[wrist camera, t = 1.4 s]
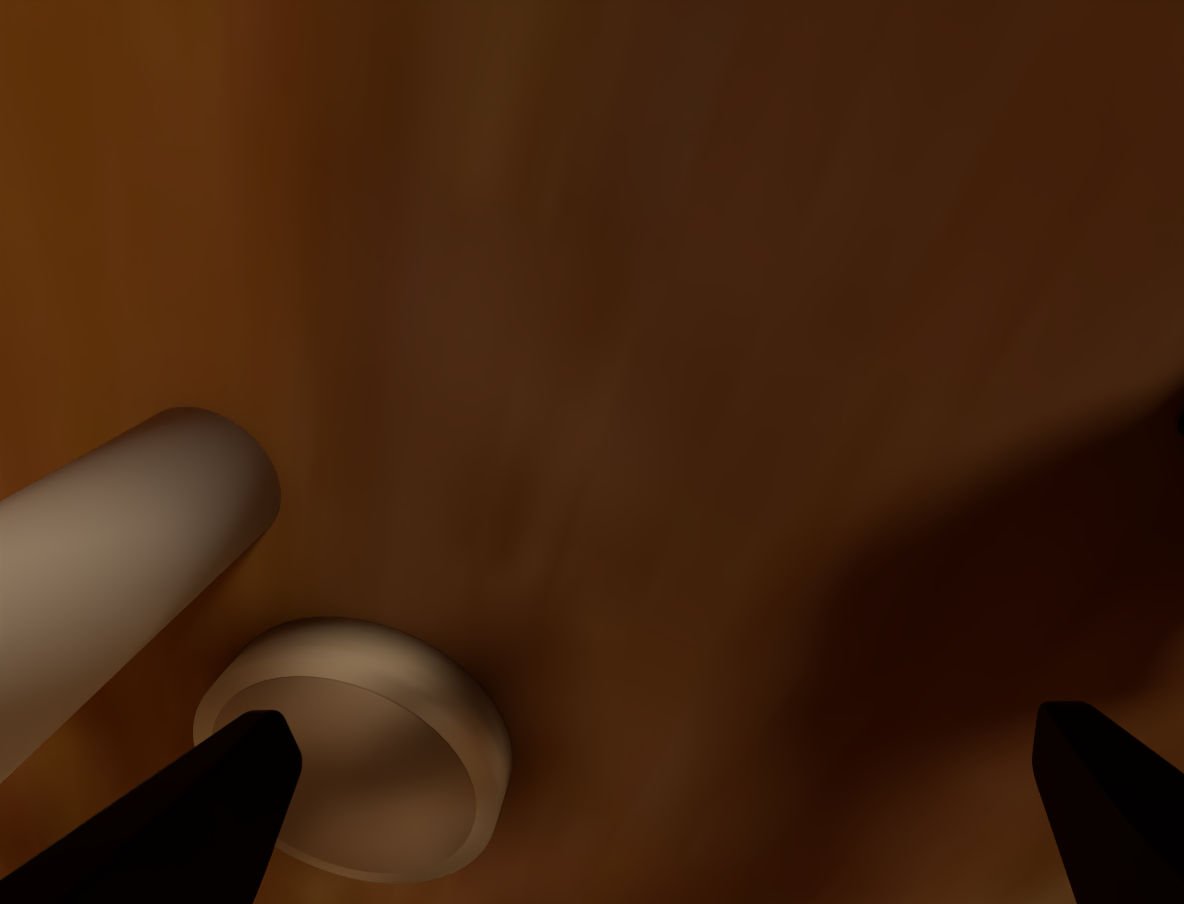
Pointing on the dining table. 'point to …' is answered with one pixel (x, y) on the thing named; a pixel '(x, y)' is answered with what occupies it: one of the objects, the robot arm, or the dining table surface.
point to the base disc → (373, 747)
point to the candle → (117, 559)
